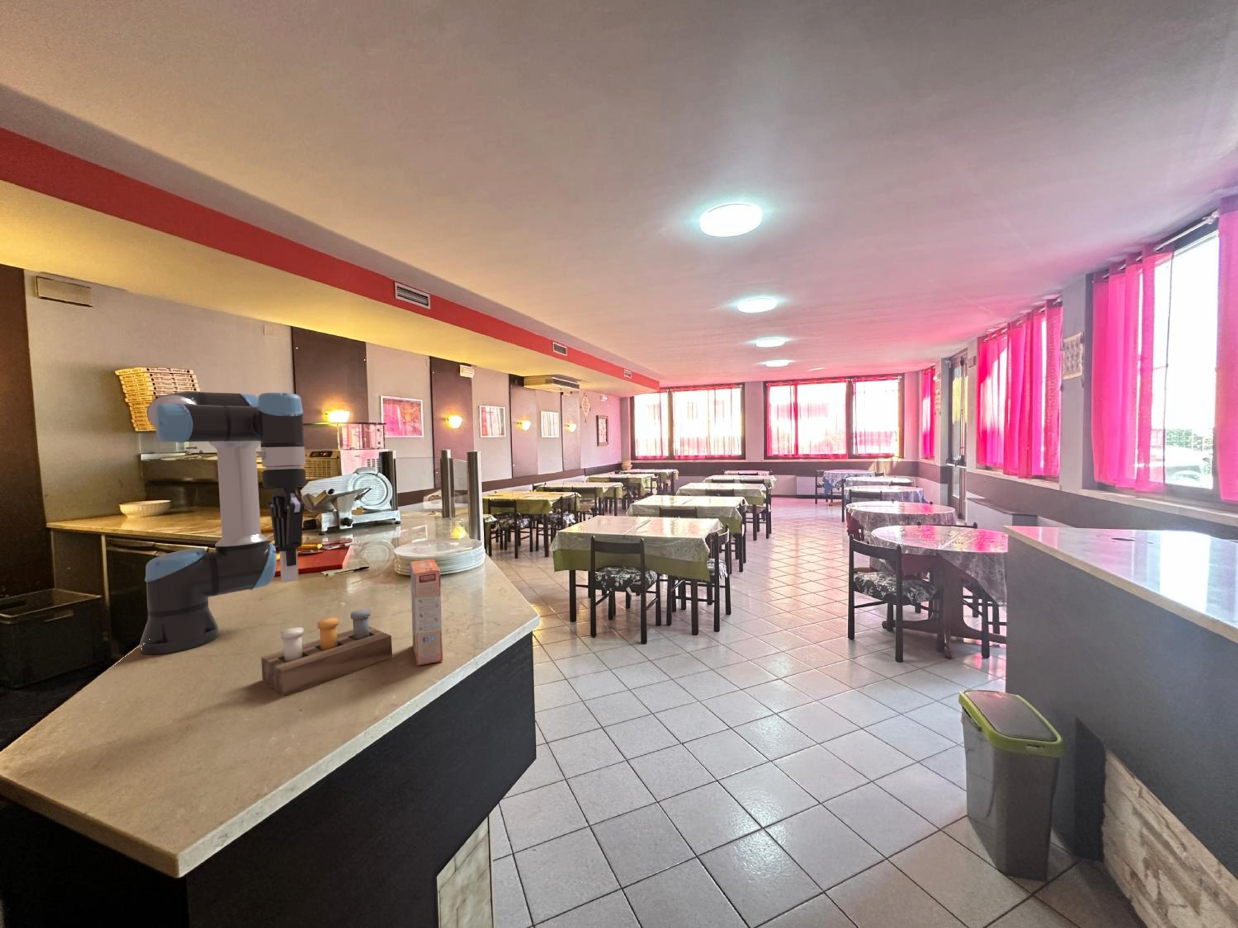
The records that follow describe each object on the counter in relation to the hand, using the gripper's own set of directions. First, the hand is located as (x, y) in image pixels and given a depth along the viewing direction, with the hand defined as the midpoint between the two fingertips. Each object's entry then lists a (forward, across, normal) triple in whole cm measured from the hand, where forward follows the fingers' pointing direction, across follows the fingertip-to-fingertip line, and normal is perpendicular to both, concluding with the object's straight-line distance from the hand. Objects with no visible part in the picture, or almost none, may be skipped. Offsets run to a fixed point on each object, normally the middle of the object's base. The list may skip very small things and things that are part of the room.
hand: (289, 580), depth 104 cm
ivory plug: (+18, 0, 0) cm, 18 cm away
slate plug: (+18, 0, +14) cm, 23 cm away
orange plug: (+18, 0, +7) cm, 19 cm away
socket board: (+21, 0, +7) cm, 22 cm away
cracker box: (+22, +11, +24) cm, 34 cm away
